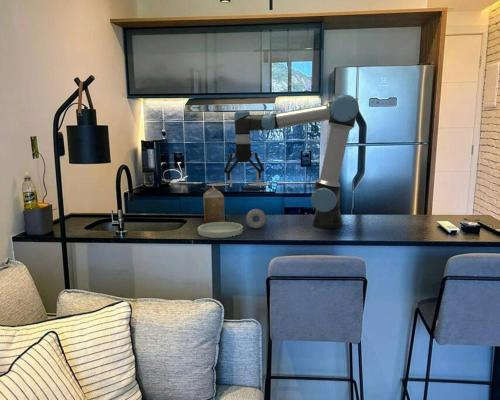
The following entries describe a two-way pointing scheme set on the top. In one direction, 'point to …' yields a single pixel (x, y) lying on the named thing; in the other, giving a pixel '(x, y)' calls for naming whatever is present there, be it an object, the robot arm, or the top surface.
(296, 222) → the top surface
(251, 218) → the donut
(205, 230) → the plate
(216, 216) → the milk carton
